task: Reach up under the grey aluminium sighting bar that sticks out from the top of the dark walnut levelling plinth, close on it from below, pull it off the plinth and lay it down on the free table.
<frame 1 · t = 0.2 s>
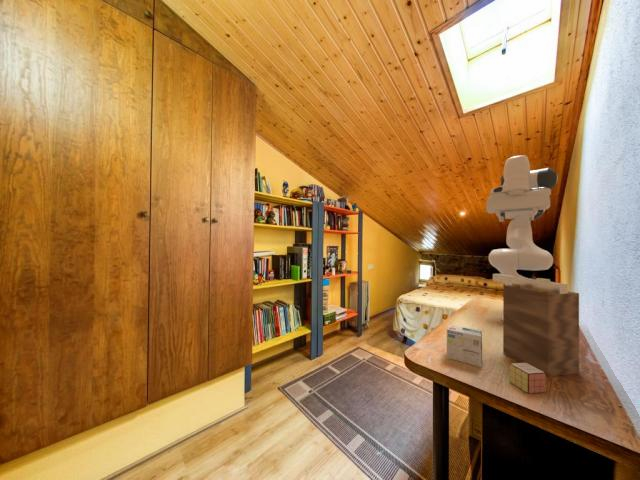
hand: (515, 220, 94), 51 cm above the table, tool tilted 20°, fingers open, 8 cm apart
sighting bar: (525, 286, 85), point 26 cm above the table, touching levelling plinth
levelling plinth: (538, 362, 81), on the table
puzzle toy: (526, 387, 67), on the table
light bulb box: (464, 359, 83), on the table
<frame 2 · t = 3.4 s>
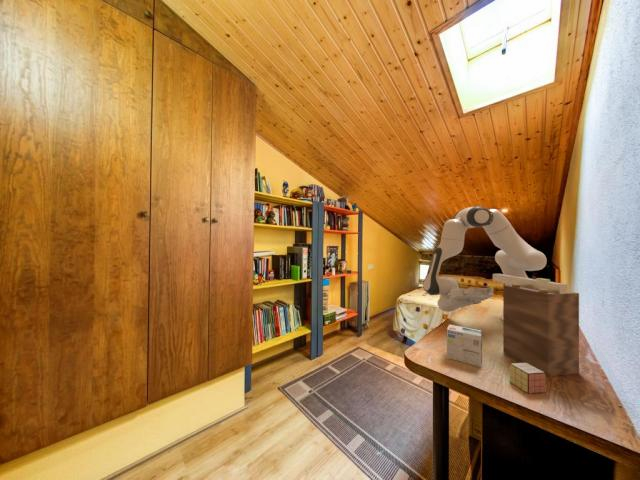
hand: (482, 288, 104), 21 cm above the table, tool pointing upward, fingers open, 8 cm apart
nothing on the table moved.
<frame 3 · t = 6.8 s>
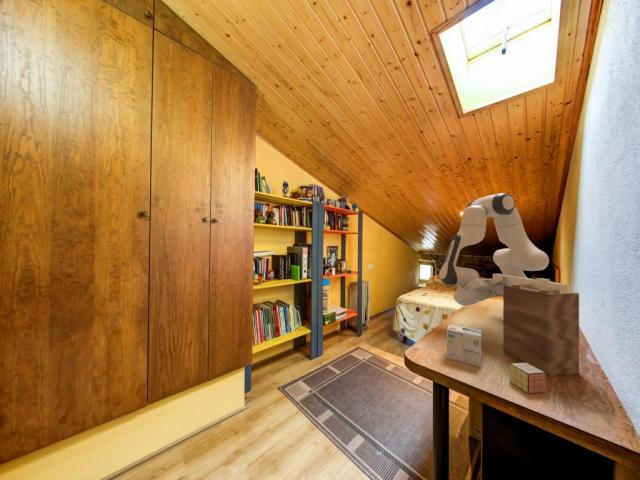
hand: (507, 278, 92), 28 cm above the table, tool pointing upward, fingers closed on sighting bar, 3 cm apart
sighting bar: (525, 286, 85), point 26 cm above the table, touching gripper, levelling plinth
everything else where it was.
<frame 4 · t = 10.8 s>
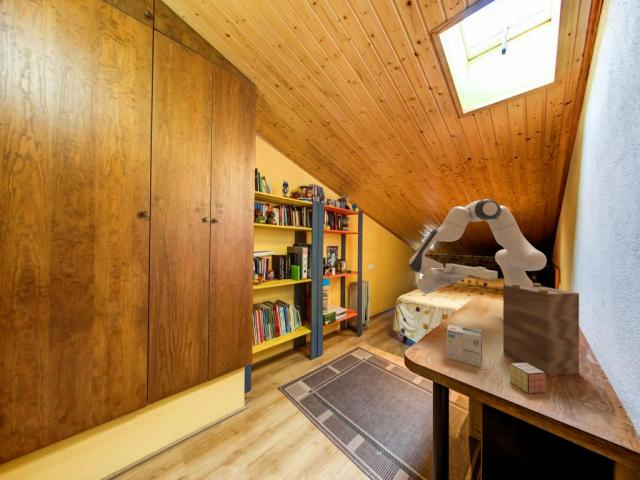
hand: (456, 267, 103), 31 cm above the table, tool pointing upward, fingers closed on sighting bar, 3 cm apart
sighting bar: (468, 274, 96), point 29 cm above the table, touching gripper
everything else where it was.
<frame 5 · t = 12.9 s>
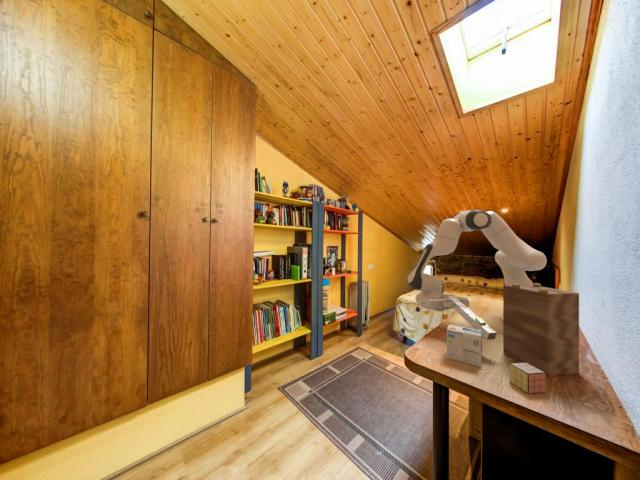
hand: (457, 304, 101), 15 cm above the table, tool horizontal, fingers closed on sighting bar, 3 cm apart
sighting bar: (467, 318, 95), point 11 cm above the table, tilted 20°, touching gripper
everything else where it was.
when the fingers open (6 cm above the table, at t = 14.8 s): sighting bar drops 3 cm, on the table.
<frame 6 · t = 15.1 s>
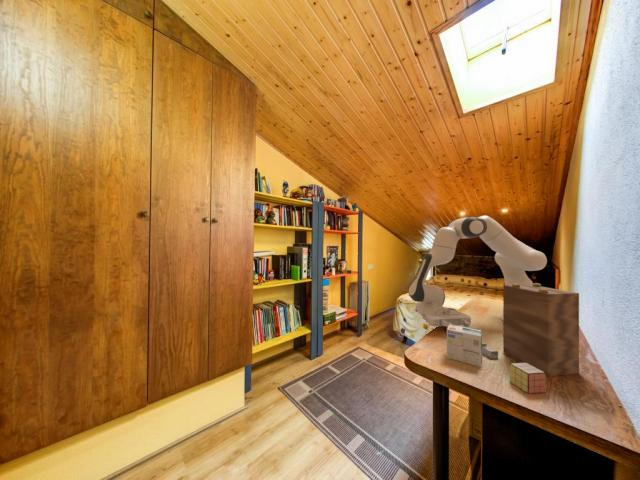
hand: (460, 325, 101), 6 cm above the table, tool horizontal, fingers open, 6 cm apart
sighting bar: (469, 344, 95), on the table
everything else where it was.
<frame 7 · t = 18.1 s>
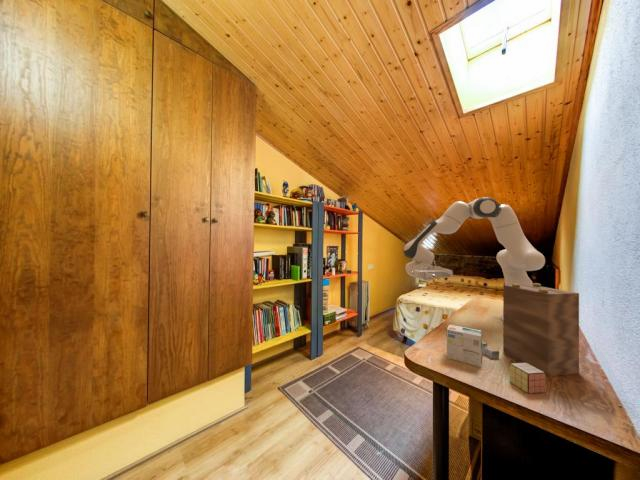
hand: (442, 275, 113), 26 cm above the table, tool horizontal, fingers open, 8 cm apart
nothing on the table moved.
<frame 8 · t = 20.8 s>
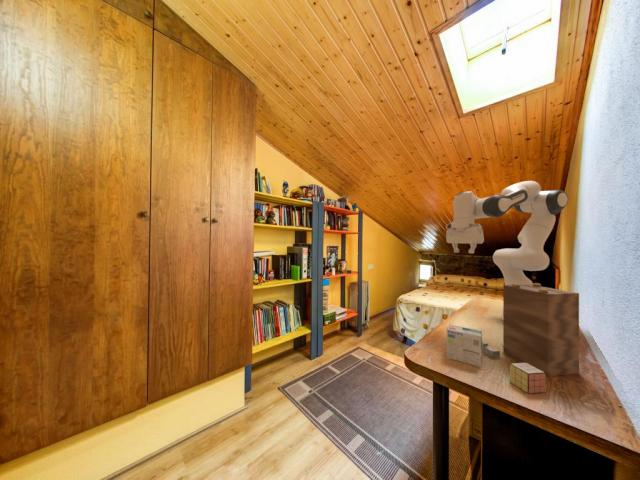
hand: (463, 252, 112), 37 cm above the table, tool pointing down, fingers open, 8 cm apart
nothing on the table moved.
at the end: sighting bar inside the target area (1.8 cm from its centre), on the table; sighting bar touching table; the gripper is holding nothing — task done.
